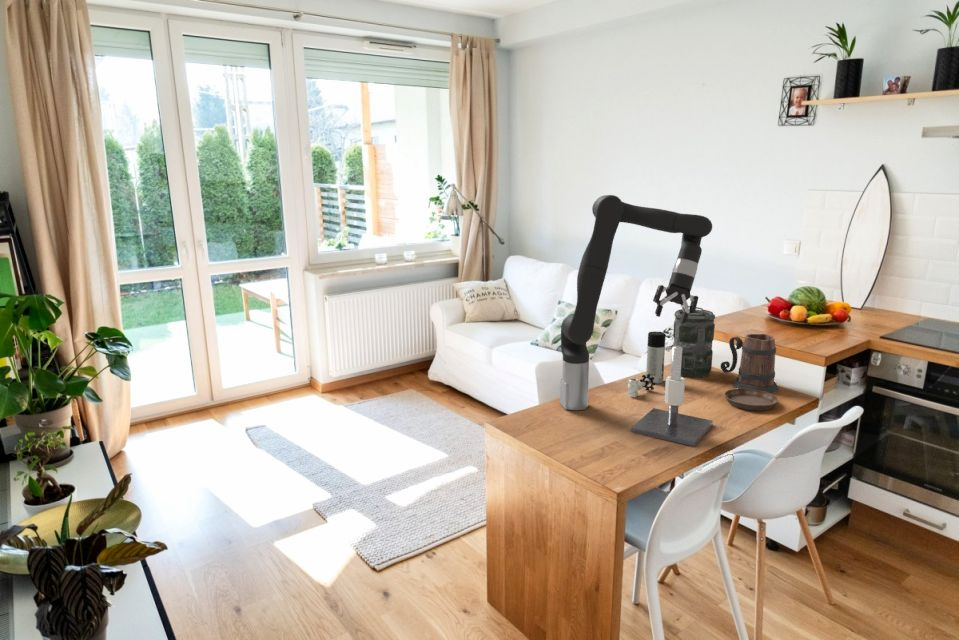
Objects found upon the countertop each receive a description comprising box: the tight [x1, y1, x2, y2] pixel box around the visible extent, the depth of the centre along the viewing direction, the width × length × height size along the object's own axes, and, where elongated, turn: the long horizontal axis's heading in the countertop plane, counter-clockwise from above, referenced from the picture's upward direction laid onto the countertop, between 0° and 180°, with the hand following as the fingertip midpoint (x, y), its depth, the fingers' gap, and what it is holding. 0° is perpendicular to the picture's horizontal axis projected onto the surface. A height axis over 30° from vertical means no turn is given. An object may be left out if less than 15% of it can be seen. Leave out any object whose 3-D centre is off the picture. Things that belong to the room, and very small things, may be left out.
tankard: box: [720, 333, 780, 394], centre depth 237 cm, size 24×17×20 cm
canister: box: [672, 305, 716, 378], centre depth 250 cm, size 16×16×28 cm
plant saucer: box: [723, 388, 779, 412], centre depth 218 cm, size 18×18×3 cm
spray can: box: [645, 331, 666, 385], centre depth 241 cm, size 7×7×20 cm
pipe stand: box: [630, 345, 714, 447], centre depth 195 cm, size 20×20×28 cm
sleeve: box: [664, 375, 686, 406], centre depth 195 cm, size 5×5×8 cm
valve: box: [627, 374, 657, 398], centre depth 229 cm, size 7×7×12 cm
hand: (669, 320), depth 206 cm, fingers open, 8 cm apart
